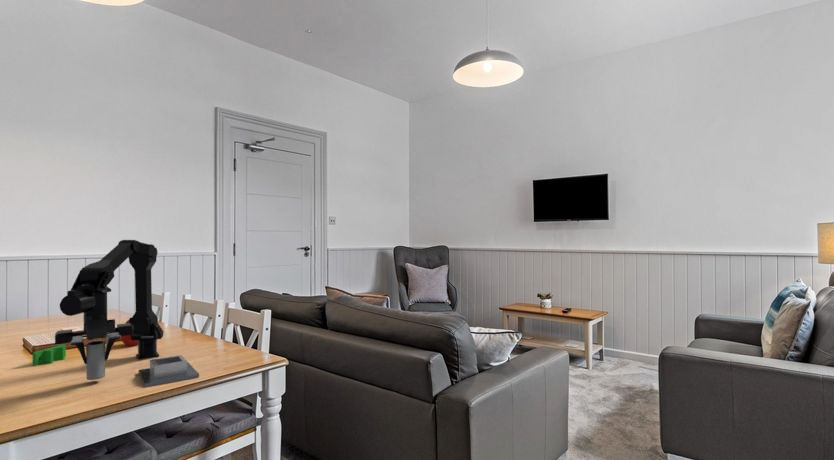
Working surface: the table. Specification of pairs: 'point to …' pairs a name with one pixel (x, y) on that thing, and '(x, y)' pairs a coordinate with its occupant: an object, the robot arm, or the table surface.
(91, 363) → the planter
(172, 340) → the table surface
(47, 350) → the pipe clamp
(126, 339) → the apple
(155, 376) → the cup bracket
